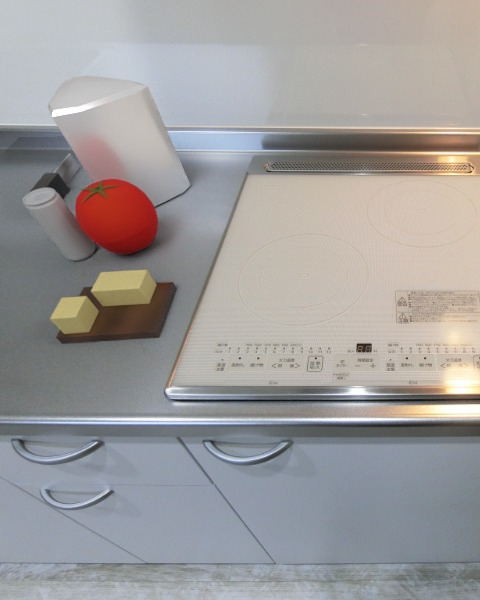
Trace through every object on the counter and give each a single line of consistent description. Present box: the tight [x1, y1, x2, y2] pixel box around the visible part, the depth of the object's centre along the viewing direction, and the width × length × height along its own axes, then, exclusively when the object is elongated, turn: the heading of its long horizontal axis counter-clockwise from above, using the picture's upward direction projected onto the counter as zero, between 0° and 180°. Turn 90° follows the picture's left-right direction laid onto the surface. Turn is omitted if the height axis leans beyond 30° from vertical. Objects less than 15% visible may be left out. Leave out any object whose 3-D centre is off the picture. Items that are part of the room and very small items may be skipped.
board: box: [55, 281, 177, 344], centre depth 67 cm, size 14×10×2 cm
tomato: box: [74, 179, 159, 255], centre depth 73 cm, size 11×11×13 cm
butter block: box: [91, 269, 157, 306], centre depth 67 cm, size 7×4×4 cm, turn 94°
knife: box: [28, 153, 80, 200], centre depth 88 cm, size 17×3×4 cm, turn 4°
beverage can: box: [21, 188, 96, 262], centre depth 72 cm, size 5×5×12 cm
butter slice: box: [49, 295, 99, 334], centre depth 63 cm, size 4×4×4 cm
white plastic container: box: [47, 75, 191, 207], centre depth 79 cm, size 15×14×22 cm
